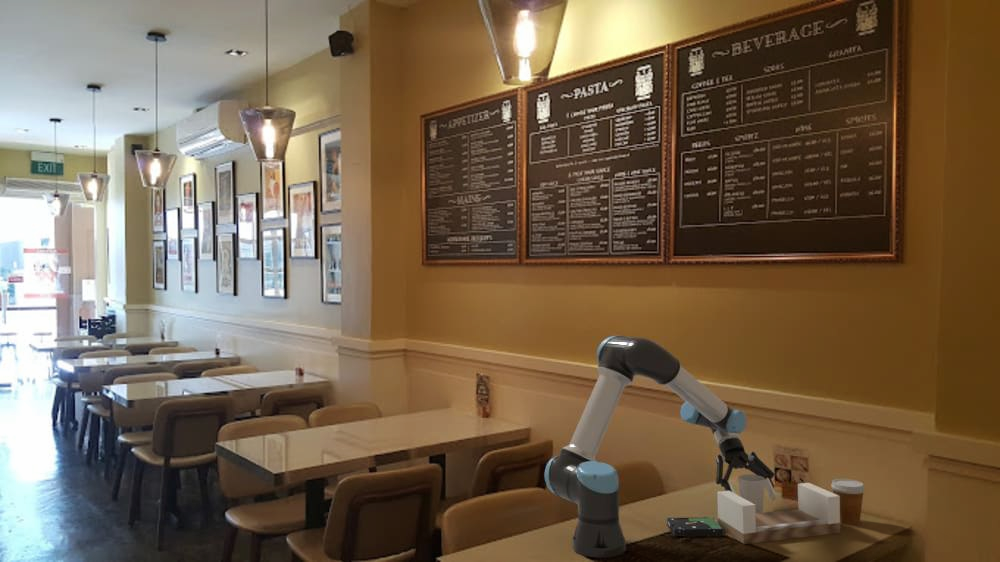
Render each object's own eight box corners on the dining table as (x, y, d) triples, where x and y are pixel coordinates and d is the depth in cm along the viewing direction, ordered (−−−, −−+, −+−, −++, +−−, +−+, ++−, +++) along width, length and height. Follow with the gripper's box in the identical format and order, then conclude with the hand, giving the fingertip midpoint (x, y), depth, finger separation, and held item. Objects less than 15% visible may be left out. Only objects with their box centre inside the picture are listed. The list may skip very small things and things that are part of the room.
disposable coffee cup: (845, 528, 212) (844, 488, 212) (824, 517, 221) (824, 479, 221) (872, 525, 214) (872, 485, 214) (851, 514, 223) (850, 477, 223)
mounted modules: (743, 533, 201) (742, 506, 201) (717, 517, 215) (717, 491, 215) (840, 522, 208) (839, 495, 208) (809, 507, 222) (808, 482, 222)
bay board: (743, 544, 201) (743, 531, 201) (718, 527, 215) (717, 515, 215) (840, 532, 208) (840, 520, 208) (809, 517, 222) (809, 505, 222)
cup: (734, 515, 225) (733, 478, 225) (746, 509, 231) (745, 472, 230) (757, 521, 219) (757, 483, 219) (769, 514, 225) (769, 477, 225)
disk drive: (674, 539, 208) (724, 537, 208) (674, 529, 208) (724, 528, 208) (666, 526, 218) (714, 525, 218) (666, 517, 218) (713, 516, 218)
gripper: (757, 445, 243) (785, 502, 228) (691, 451, 237) (715, 509, 223) (766, 433, 238) (795, 491, 223) (699, 439, 232) (724, 498, 218)
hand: (755, 500), depth 223 cm, fingers open, 13 cm apart
